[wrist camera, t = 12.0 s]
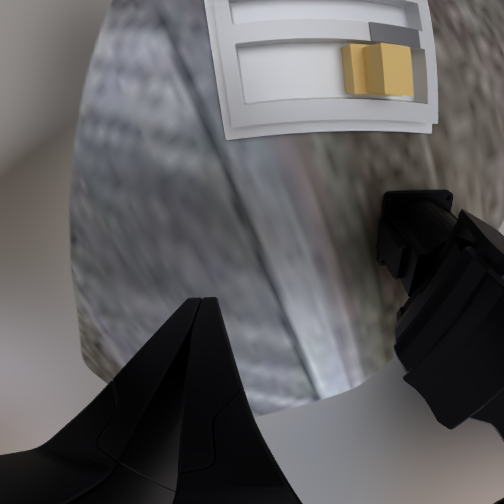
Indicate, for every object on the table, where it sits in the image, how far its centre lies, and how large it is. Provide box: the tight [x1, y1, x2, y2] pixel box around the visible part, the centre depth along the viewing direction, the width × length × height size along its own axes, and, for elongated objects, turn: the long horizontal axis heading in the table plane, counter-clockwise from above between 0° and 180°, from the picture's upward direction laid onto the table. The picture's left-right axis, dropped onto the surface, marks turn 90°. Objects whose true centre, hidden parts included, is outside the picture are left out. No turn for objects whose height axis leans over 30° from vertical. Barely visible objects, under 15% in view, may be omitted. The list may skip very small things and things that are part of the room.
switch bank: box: [204, 0, 438, 140], centre depth 11 cm, size 14×16×3 cm
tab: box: [341, 43, 413, 97], centre depth 12 cm, size 3×3×4 cm
